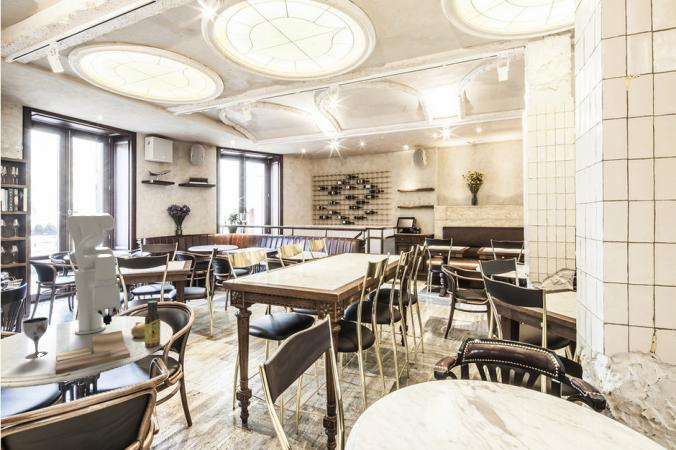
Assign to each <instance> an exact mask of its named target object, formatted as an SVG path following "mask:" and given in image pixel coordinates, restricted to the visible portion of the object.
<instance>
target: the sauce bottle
mask: <svg viewBox="0 0 676 450" xmlns="http://www.w3.org/2000/svg"><path fill="white" fill-rule="evenodd" d="M158 303H159V302H158V300H150V301H147V303H146V304H147V313H146V315H145V317H144V323H145V337H144V346H145V347H146V348H153V347H157V346H159V345H160V344H161V317H160V315H159V312H158Z"/></svg>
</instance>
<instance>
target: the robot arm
mask: <svg viewBox="0 0 676 450" xmlns="http://www.w3.org/2000/svg"><path fill="white" fill-rule="evenodd" d="M115 225H116V222H115V218H114V217H113V215H111V214H109V213H74V214H71V215H69V216H68V217H67V219H66V227H67V231H68V233H69V235H70V236H71V238H72V242H73V245H74V258H75V261H76V267H77V269H78V271H76V273H75V274H74V282H75V283H74V284H75V287H76V294H77V295H76V296H77V316H78V317H77V318H78V319H77V320H78V328H76V329H75V330H74V334H76V335H90V334H94V333H95V334H96V333H98V332H101V331H103V330H105V329H106V326H107V325H111V322H112V321H113V319H112V318H113V317H112V315H113V314H114V313H115V312H116V311H119V310H121V309H122V306H121V301H122V300H121V294H120V293H121V291H120V287H119V284H118V283H120V282H121V280H120V278H117V275H118V274H117V269H116V265H117V264H116V262H117V261H116V257H115V255H114V251H113V250H112V249H111V247H107V246H104V247H103V246H101V247H98V246H99V245H101V244H103V243H104V242H105V240H106V237H105V233H104V231H112V230H114V228H115ZM106 310H108V312H107V313H106ZM102 322H103V324H102Z"/></svg>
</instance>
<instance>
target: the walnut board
mask: <svg viewBox="0 0 676 450" xmlns="http://www.w3.org/2000/svg"><path fill="white" fill-rule="evenodd" d="M127 357H128V358H129V357H131V352H130V350H129V348H128V347H127V346H125V347H122V348H118V349H113V350H109V351H104V352H100V353H95V354H94V353H91V355H86V356H82V357H77V358H73V359H68V360H64V361H59V362H57V361H55V362H54V363H55V374H56V375H58V374H61V373H65V372H70V371H74V370H78V369H82V368H87V367H90V366H91V367H92V366H95V365H98V364H99V365H100V364H104V363H106V362H111V361H115V360H121V359H124V358H127Z"/></svg>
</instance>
